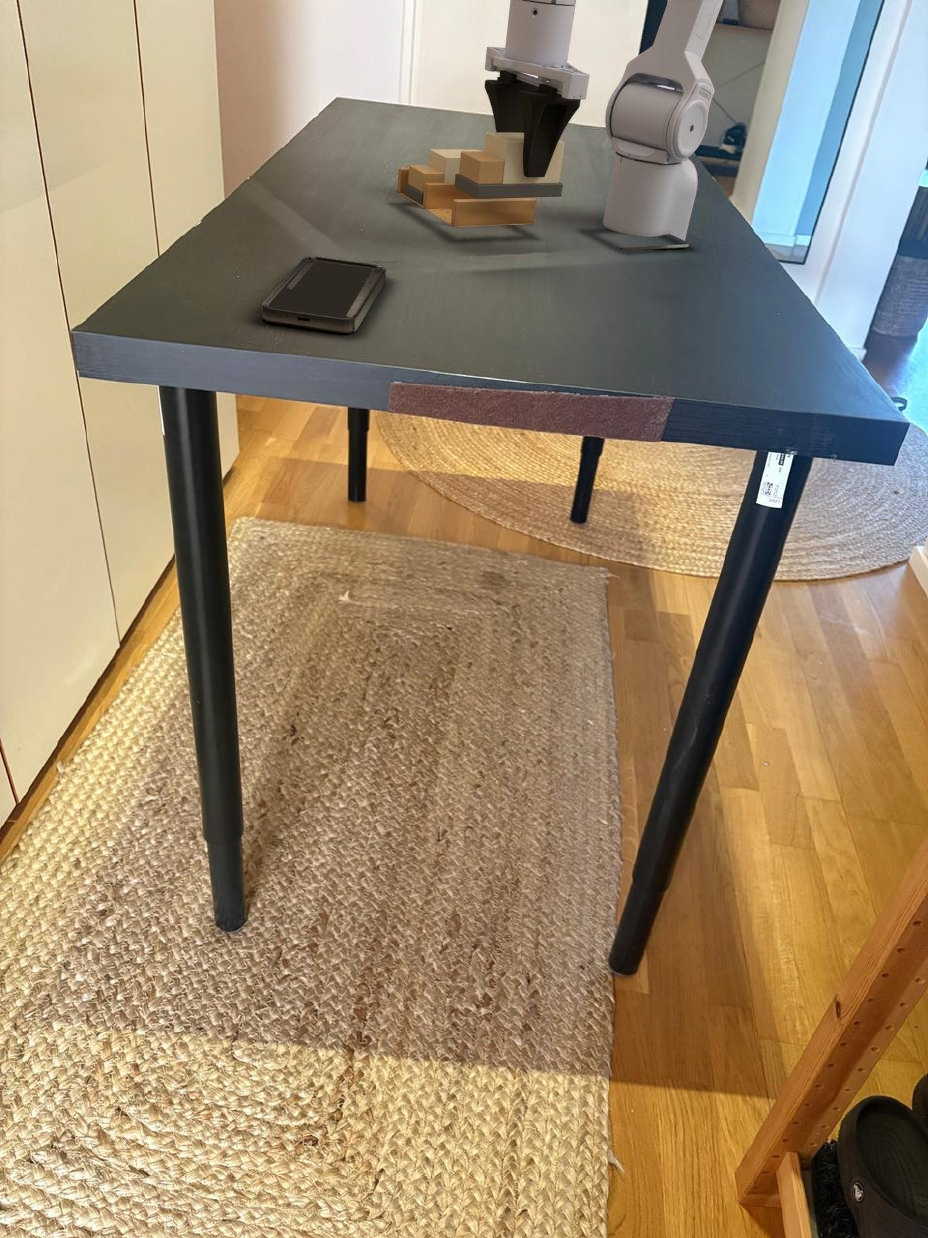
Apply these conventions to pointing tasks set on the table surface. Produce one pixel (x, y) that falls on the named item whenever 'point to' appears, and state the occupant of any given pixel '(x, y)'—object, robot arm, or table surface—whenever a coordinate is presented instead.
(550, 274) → the table surface
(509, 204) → the wooden compartment tray
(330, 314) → the phone
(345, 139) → the table surface
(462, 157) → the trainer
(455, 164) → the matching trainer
